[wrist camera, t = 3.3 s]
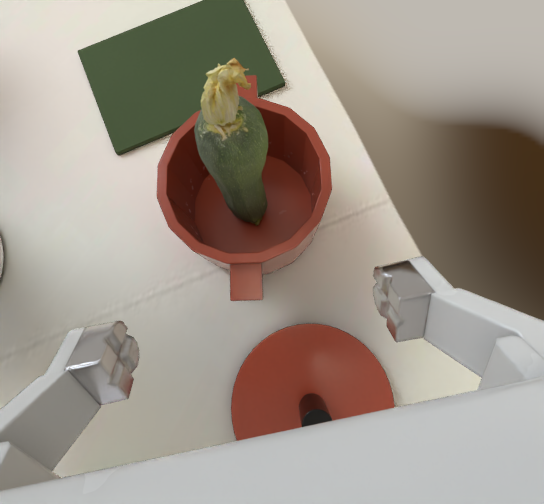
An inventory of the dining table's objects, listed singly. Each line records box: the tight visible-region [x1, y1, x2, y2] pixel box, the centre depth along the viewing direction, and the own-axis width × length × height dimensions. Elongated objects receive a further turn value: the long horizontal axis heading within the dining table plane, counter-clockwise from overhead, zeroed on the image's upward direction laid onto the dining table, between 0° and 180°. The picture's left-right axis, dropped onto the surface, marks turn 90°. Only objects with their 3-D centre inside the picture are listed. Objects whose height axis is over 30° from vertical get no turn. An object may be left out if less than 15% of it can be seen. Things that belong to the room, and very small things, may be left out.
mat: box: [78, 0, 285, 155], centre depth 35 cm, size 20×14×1 cm
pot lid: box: [231, 324, 394, 441], centre depth 26 cm, size 15×15×6 cm
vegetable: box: [194, 58, 268, 226], centre depth 22 cm, size 4×4×20 cm
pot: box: [157, 75, 332, 301], centre depth 28 cm, size 14×19×8 cm
